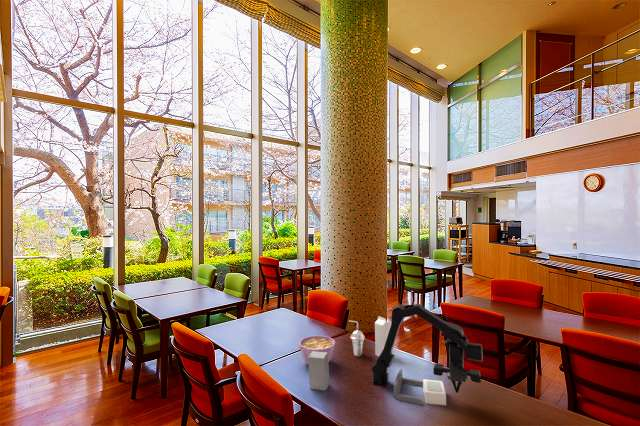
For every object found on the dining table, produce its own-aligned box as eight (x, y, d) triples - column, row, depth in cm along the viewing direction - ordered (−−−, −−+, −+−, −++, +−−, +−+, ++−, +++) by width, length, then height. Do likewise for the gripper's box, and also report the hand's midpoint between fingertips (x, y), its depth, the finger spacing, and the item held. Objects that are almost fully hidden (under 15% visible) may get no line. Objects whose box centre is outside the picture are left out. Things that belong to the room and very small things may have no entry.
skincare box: (329, 384, 156) (329, 351, 156) (325, 392, 149) (324, 358, 150) (313, 381, 159) (312, 349, 159) (308, 389, 152) (307, 355, 152)
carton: (425, 403, 140) (425, 391, 140) (423, 390, 150) (423, 378, 150) (446, 405, 138) (445, 393, 138) (442, 392, 149) (442, 380, 149)
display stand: (393, 398, 143) (393, 385, 143) (400, 380, 158) (400, 368, 158) (421, 404, 138) (421, 390, 138) (426, 385, 153) (426, 373, 153)
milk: (383, 358, 183) (382, 319, 183) (375, 355, 188) (374, 317, 188) (390, 355, 186) (389, 317, 186) (382, 352, 191) (381, 315, 191)
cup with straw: (361, 358, 183) (361, 323, 183) (347, 355, 188) (346, 321, 188) (367, 352, 191) (366, 319, 191) (353, 349, 195) (352, 316, 195)
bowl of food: (293, 368, 173) (292, 346, 173) (308, 353, 192) (308, 333, 192) (328, 374, 166) (327, 352, 166) (340, 358, 184) (340, 337, 184)
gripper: (431, 360, 137) (432, 397, 137) (481, 368, 129) (481, 407, 129) (434, 350, 147) (434, 384, 147) (479, 357, 139) (480, 393, 139)
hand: (456, 392), depth 140 cm, fingers closed
